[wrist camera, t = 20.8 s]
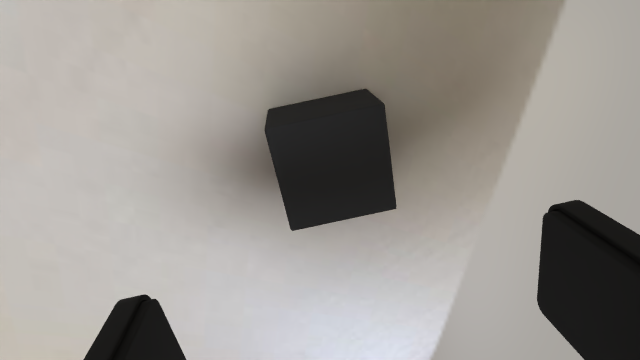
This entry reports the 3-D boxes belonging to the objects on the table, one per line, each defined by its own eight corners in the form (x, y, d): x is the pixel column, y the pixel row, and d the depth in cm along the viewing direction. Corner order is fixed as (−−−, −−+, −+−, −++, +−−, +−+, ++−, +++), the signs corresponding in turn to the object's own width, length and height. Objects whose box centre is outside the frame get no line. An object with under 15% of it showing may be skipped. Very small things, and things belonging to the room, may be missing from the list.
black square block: (366, 88, 18) (384, 103, 15) (379, 178, 20) (397, 209, 17) (267, 109, 18) (263, 128, 15) (289, 198, 20) (291, 231, 17)
